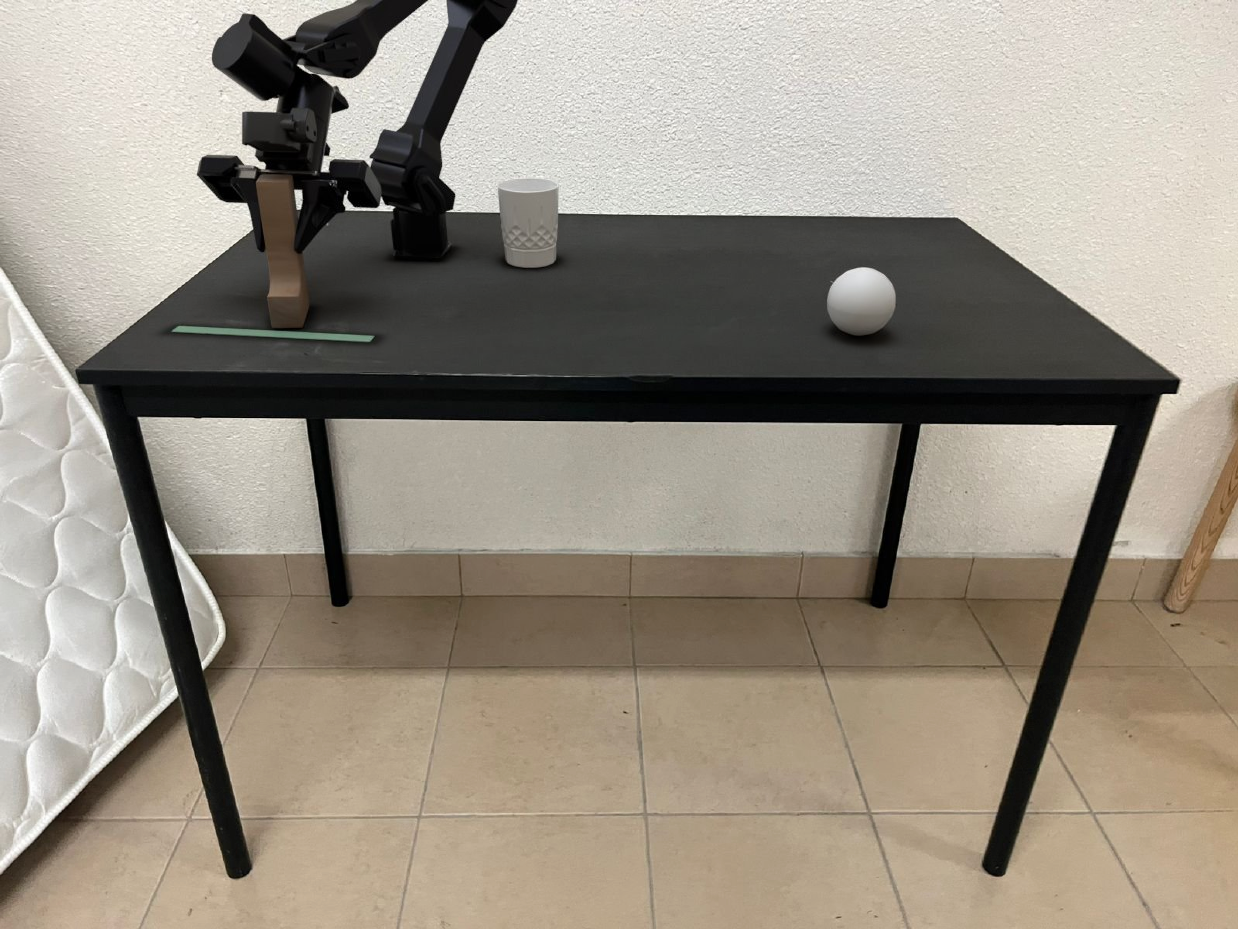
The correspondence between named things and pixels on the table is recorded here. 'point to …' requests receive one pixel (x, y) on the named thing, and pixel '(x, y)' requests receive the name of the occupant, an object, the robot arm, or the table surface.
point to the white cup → (529, 220)
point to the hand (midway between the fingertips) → (278, 251)
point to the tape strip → (273, 334)
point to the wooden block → (282, 251)
